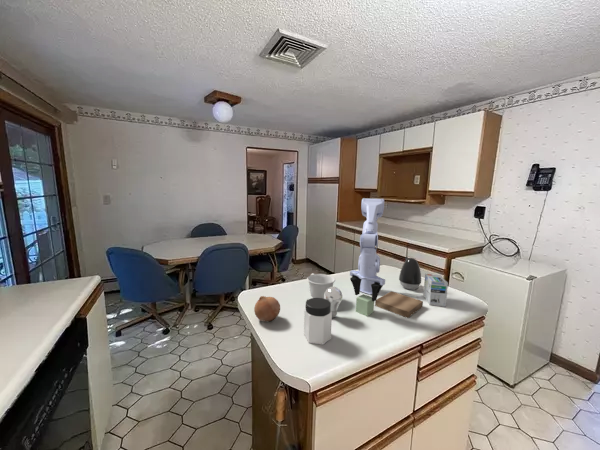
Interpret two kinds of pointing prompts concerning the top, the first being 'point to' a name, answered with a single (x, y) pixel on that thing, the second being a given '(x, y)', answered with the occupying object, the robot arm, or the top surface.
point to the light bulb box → (435, 290)
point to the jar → (317, 320)
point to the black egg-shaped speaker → (410, 274)
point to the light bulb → (333, 298)
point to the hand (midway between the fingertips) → (365, 297)
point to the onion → (267, 309)
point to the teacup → (319, 284)
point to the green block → (364, 305)
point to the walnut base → (399, 304)
